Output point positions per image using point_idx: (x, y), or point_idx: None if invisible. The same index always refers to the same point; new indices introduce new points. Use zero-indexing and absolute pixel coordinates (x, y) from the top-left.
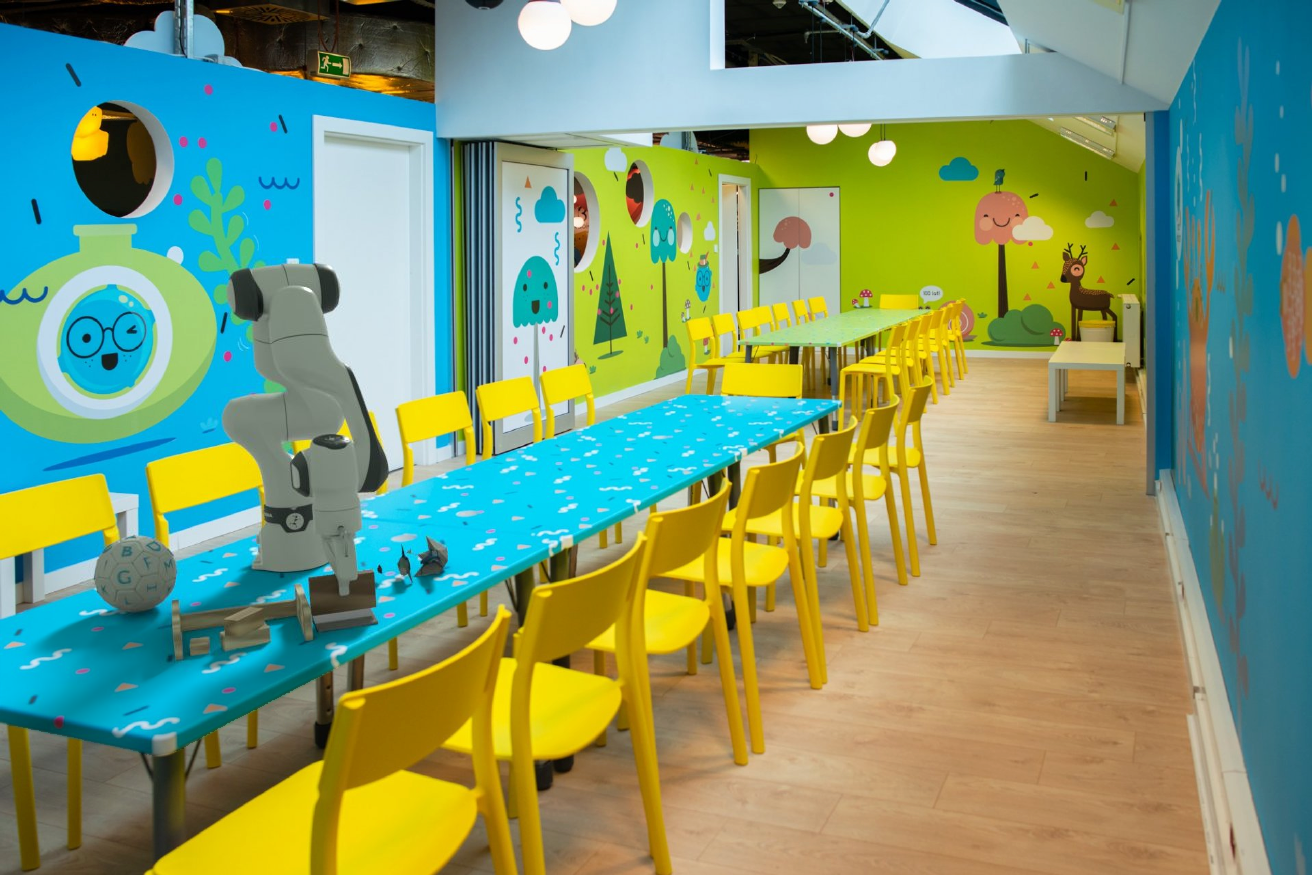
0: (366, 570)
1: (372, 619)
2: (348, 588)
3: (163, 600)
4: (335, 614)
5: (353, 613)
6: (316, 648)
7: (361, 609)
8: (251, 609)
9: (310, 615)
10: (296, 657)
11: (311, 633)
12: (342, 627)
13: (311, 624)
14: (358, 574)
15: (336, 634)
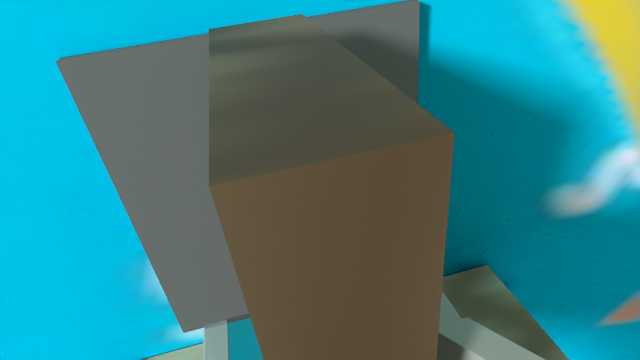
0: (278, 276)
1: (369, 38)
2: (446, 299)
3: None
4: (209, 242)
5: None
6: (572, 239)
7: (133, 116)
8: None
9: (558, 349)
10: (604, 276)
11: (502, 286)
12: None
13: (529, 314)
14: (433, 333)
15: (470, 197)
